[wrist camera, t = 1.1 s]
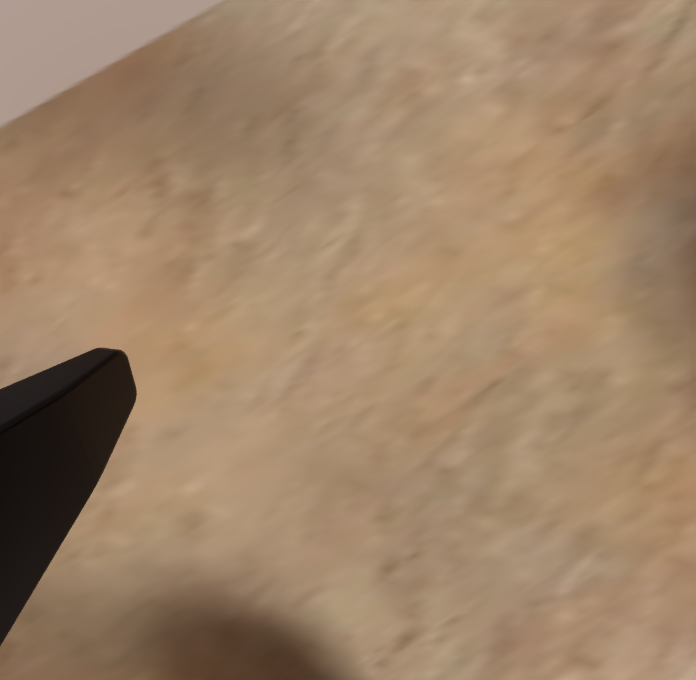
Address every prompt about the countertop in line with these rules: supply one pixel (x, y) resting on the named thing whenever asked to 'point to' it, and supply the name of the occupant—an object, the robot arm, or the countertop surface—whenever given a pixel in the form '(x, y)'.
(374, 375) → the countertop surface
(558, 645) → the countertop surface
